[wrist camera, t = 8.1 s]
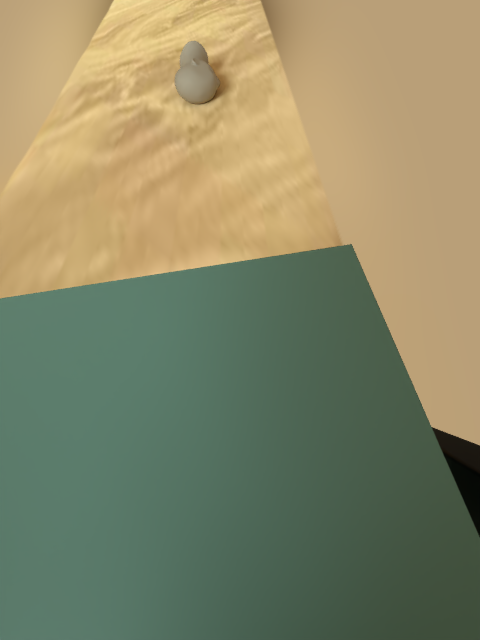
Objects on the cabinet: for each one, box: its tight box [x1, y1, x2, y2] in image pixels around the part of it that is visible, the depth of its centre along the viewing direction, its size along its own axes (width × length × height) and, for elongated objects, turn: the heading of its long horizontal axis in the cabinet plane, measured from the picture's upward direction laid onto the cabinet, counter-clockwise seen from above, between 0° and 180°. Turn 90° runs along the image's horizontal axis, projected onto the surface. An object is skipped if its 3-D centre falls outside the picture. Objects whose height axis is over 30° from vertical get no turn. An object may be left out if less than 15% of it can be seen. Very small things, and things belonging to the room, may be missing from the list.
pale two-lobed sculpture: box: [175, 41, 220, 104], centre depth 38 cm, size 4×8×5 cm
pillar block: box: [0, 244, 480, 640], centre depth 8 cm, size 5×5×12 cm
